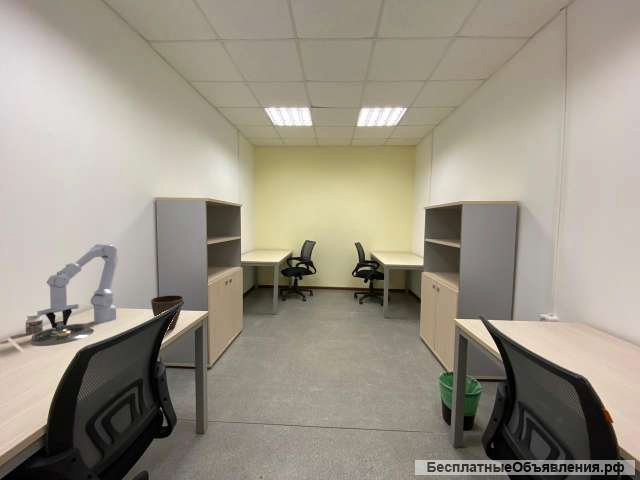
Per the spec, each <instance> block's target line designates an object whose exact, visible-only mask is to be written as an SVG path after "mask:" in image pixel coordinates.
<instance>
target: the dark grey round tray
mask: <svg viewBox="0 0 640 480" xmlns="http://www.w3.org/2000/svg"><path fill="white" fill-rule="evenodd" d="M64 328H67V330H64V331H60V332H57V335H52V331H53V330H55V328H52V327H51V328H47V329H43V331H40V332H38V333H36V334H31V341H30V345H32V346H35V347H49V346H51V347H52V346H57V345H64V344H68V343H73V342H75V341H78V340H82V339H85V338H86V337H89V336H90V335H92V334H93V333H94V331H95V330H94V329H93V328H91V327H85V323H84V322H83V323H71V324H67V325H65V326H64Z"/></svg>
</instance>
